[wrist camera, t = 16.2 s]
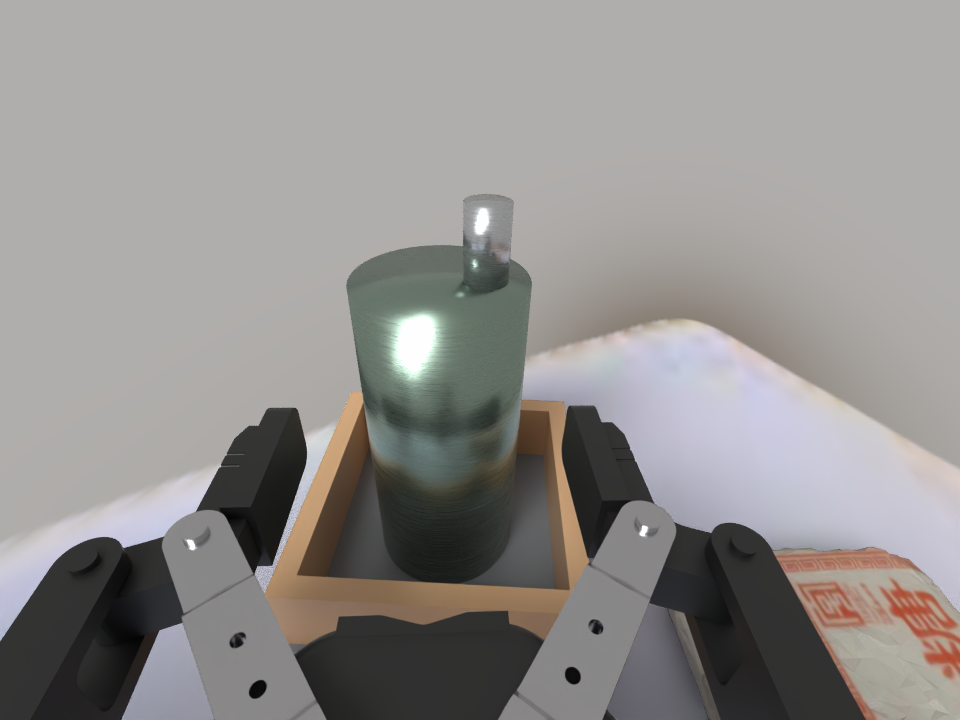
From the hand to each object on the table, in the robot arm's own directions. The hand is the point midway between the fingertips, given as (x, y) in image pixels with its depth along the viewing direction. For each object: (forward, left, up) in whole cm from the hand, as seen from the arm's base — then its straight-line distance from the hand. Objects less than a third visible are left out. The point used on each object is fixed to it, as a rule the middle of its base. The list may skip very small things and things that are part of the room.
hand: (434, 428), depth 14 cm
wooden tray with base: (0, +3, -9) cm, 10 cm away
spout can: (0, +3, -8) cm, 9 cm away
